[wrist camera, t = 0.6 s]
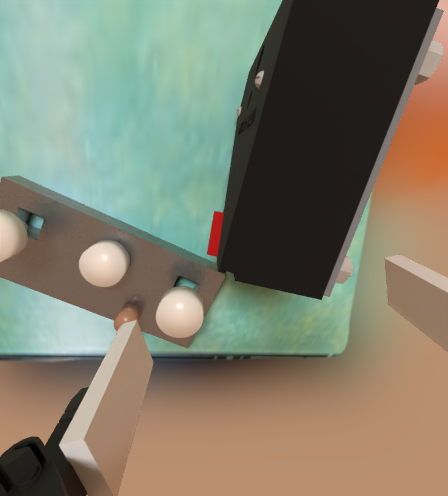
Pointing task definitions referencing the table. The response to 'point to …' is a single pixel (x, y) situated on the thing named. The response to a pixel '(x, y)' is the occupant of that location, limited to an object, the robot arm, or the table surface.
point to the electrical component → (318, 136)
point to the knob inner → (11, 235)
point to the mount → (83, 237)
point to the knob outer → (180, 312)
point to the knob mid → (104, 263)
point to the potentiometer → (127, 315)
